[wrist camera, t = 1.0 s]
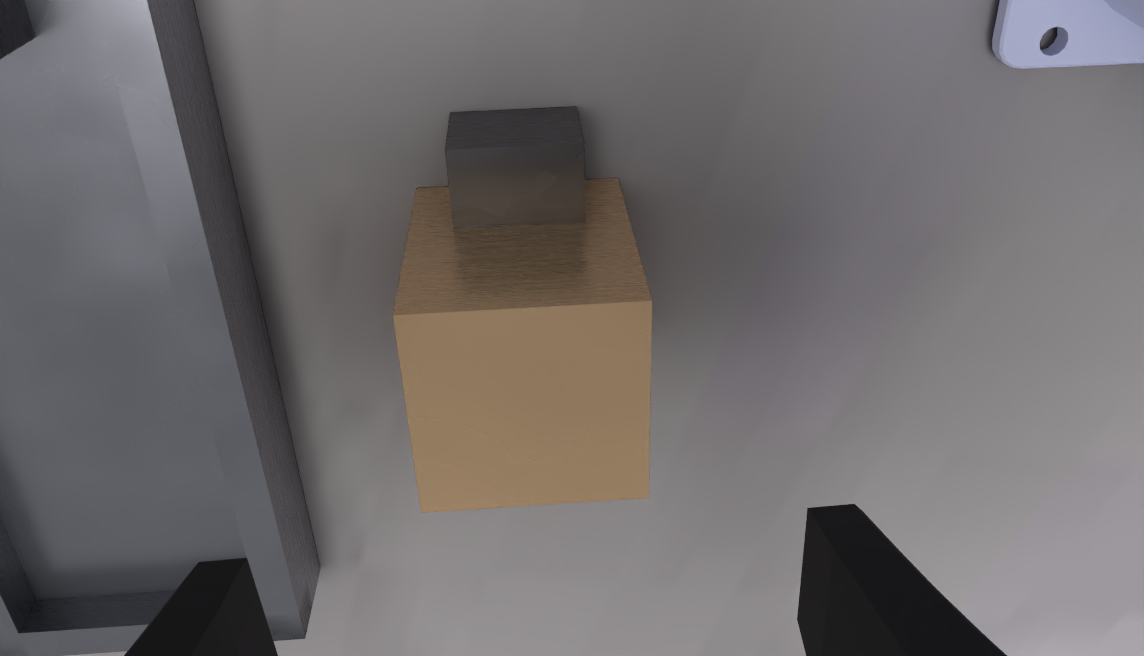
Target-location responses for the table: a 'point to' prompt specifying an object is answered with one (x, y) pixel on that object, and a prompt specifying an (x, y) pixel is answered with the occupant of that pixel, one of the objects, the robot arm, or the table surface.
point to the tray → (130, 341)
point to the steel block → (14, 26)
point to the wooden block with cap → (523, 323)
